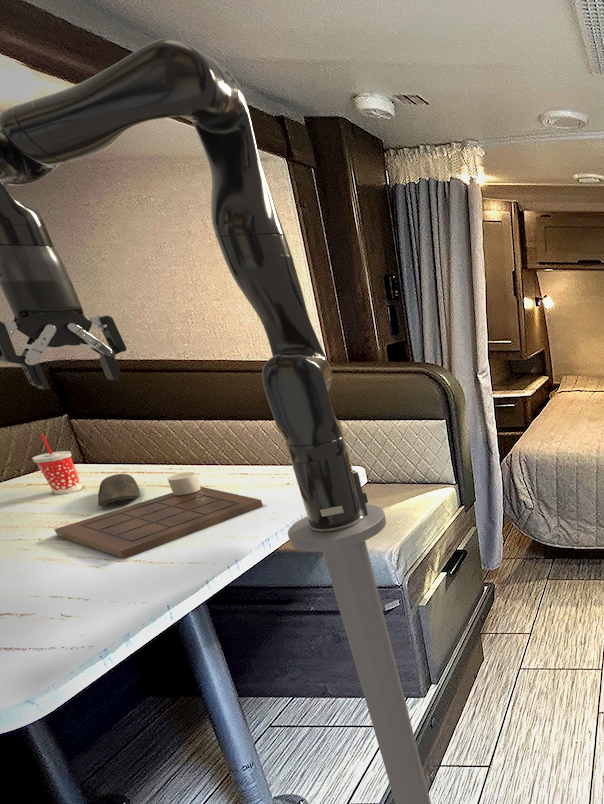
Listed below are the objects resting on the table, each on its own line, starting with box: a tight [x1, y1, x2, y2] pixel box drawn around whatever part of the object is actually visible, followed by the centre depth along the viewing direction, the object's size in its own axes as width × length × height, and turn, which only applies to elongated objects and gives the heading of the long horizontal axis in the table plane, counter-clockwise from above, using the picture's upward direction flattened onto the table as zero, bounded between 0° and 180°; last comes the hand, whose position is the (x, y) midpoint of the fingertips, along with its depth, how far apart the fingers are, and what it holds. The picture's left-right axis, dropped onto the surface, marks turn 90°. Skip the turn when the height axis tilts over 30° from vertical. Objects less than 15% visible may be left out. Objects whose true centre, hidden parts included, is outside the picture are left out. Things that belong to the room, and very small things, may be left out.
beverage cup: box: [31, 433, 83, 495], centre depth 118 cm, size 6×6×14 cm
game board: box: [54, 486, 264, 560], centre depth 103 cm, size 24×24×2 cm
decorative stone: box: [97, 473, 141, 507], centre depth 115 cm, size 17×6×4 cm, turn 43°
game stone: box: [167, 471, 202, 495], centre depth 113 cm, size 5×5×4 cm
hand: (80, 383), depth 83 cm, fingers open, 8 cm apart
